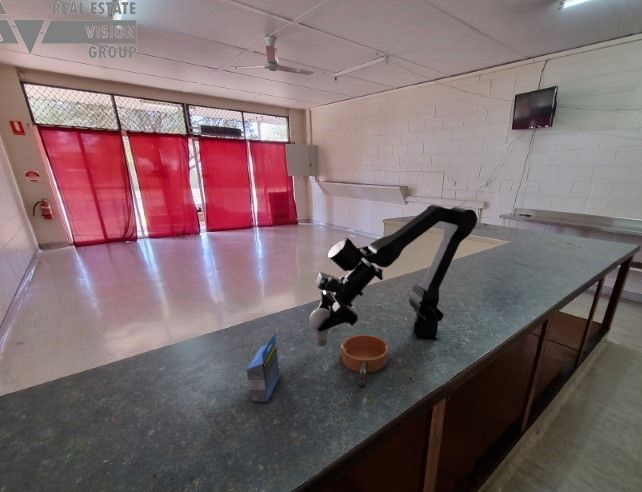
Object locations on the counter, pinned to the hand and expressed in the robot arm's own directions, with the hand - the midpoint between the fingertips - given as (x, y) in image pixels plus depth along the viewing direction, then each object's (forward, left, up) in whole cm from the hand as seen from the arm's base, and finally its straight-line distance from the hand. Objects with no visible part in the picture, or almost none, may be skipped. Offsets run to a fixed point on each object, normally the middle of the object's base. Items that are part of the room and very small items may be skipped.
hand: (316, 324), depth 83 cm
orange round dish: (-13, +3, -8) cm, 16 cm away
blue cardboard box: (+9, +16, -9) cm, 20 cm away
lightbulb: (-1, -1, -7) cm, 7 cm away
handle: (-13, +13, -6) cm, 19 cm away
